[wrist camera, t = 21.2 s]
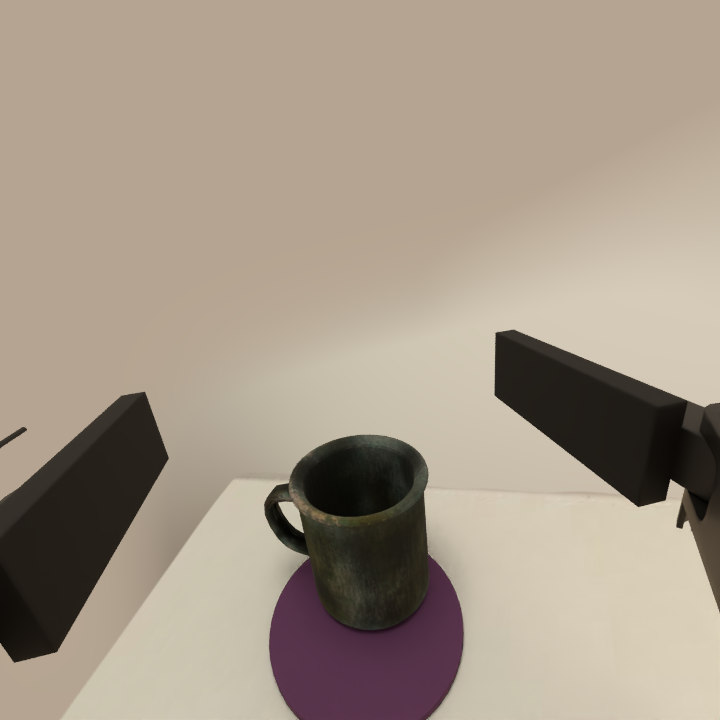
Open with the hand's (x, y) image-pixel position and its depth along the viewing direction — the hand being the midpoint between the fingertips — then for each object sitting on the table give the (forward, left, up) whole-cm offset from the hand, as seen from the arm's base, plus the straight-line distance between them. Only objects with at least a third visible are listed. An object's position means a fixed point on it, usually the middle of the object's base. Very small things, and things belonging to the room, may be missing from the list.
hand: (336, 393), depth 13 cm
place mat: (-8, +2, -25) cm, 26 cm away
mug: (-12, +2, -25) cm, 27 cm away
